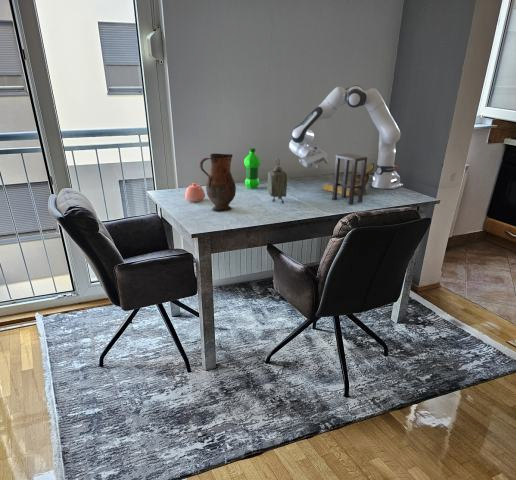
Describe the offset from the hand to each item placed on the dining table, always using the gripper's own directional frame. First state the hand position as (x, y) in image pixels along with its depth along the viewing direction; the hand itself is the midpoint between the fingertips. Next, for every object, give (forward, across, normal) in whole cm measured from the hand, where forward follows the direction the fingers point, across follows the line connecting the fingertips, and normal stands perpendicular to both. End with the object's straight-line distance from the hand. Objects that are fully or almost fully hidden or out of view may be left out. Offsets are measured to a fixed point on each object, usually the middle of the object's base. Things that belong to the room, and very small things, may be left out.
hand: (322, 164), depth 313 cm
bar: (+20, -6, +7) cm, 22 cm away
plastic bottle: (-25, -39, +18) cm, 50 cm away
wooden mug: (+32, +5, +5) cm, 33 cm away
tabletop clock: (+8, -51, +2) cm, 52 cm away
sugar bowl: (-26, -86, +8) cm, 91 cm away
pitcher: (-2, -89, -2) cm, 89 cm away
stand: (+36, -17, -1) cm, 40 cm away
